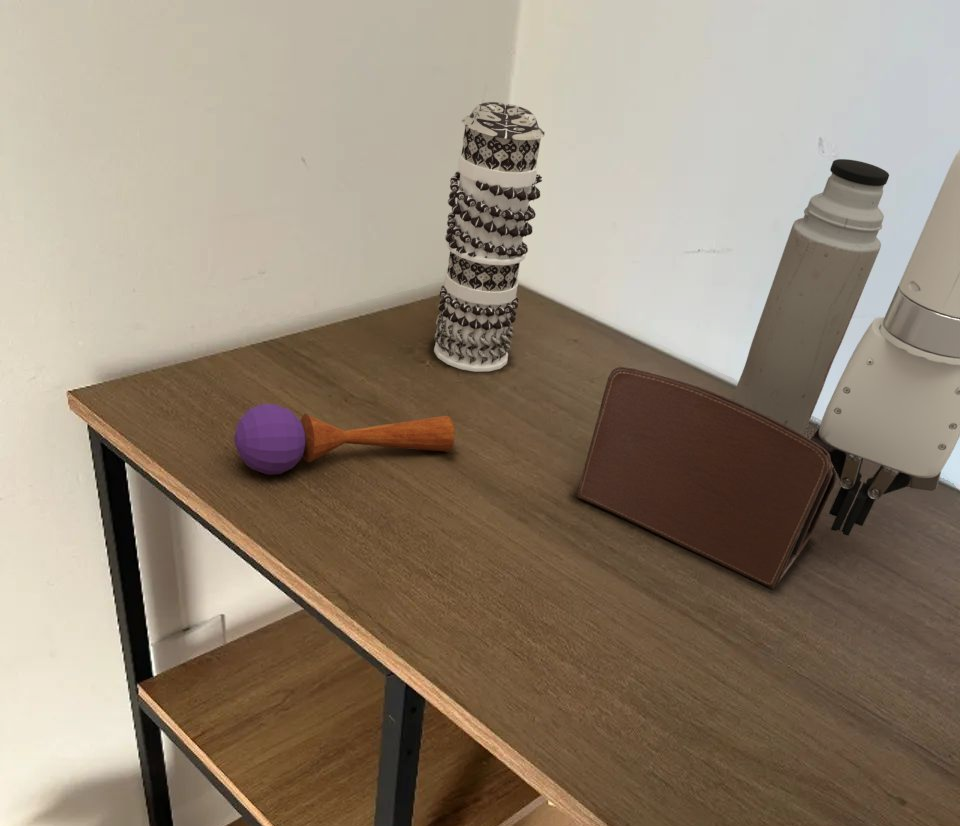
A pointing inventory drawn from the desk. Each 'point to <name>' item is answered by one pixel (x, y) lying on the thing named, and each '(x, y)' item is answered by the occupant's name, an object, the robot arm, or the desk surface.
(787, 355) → the thermos bottle
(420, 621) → the desk surface
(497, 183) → the white patterned cylinder
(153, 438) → the desk surface
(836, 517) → the robot arm
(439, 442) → the kendama
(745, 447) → the letter holder
